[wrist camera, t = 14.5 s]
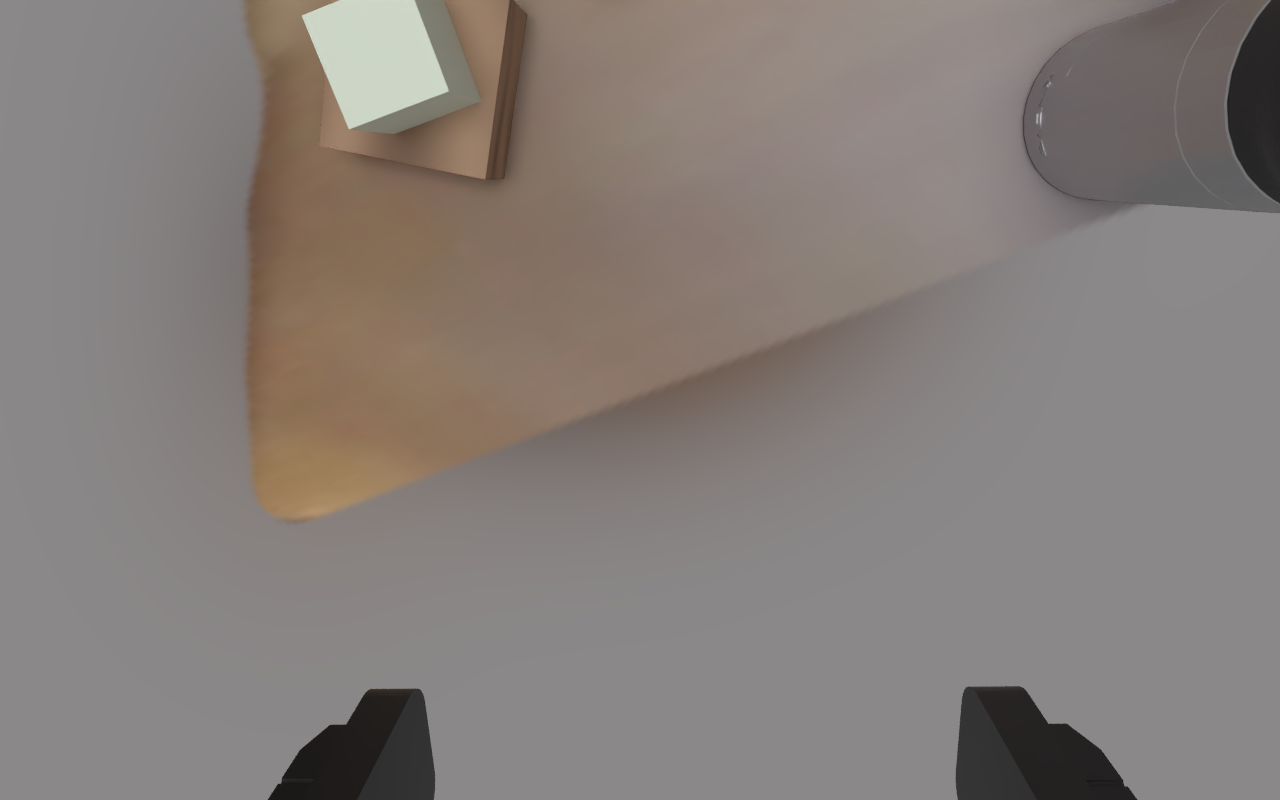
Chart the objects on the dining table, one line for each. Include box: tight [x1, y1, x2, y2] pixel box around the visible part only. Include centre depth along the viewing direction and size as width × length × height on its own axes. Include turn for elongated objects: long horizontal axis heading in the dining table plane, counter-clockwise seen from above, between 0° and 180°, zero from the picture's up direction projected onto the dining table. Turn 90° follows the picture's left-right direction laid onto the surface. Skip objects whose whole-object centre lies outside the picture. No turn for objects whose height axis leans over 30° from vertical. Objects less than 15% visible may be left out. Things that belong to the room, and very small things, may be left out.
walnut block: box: [319, 0, 527, 180], centre depth 43 cm, size 9×9×5 cm
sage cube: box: [302, 0, 481, 134], centre depth 38 cm, size 5×5×6 cm
